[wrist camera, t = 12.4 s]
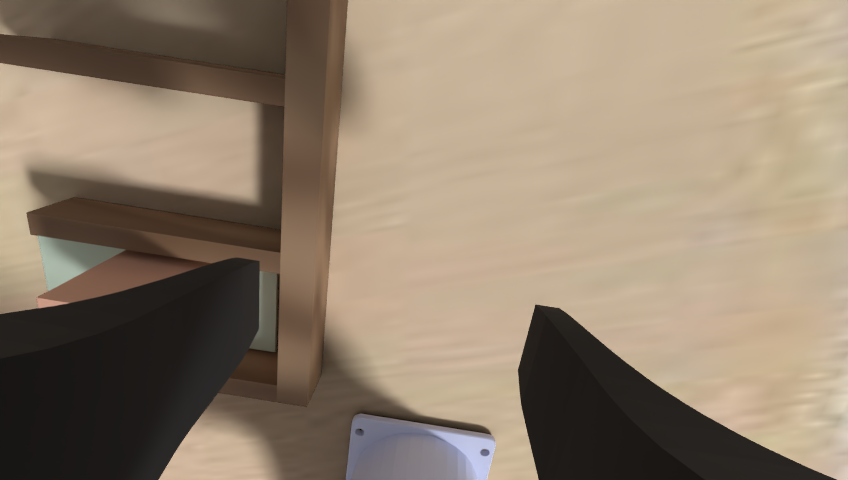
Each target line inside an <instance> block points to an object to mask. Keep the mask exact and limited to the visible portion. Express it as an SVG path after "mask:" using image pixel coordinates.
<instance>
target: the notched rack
mask: <svg viewBox="0 0 848 480" xmlns="http://www.w3.org/2000/svg"><path fill="white" fill-rule="evenodd" d="M347 5H348V0H287V32H286V69H285V75H283V74H276V73H270V72H263V71H257V70H250V69H244V68H237V67H231V66H224V65H218V64H211V63H205V62H198V61H192V60H186V59H179V58H173V57H166V56H160V55H153V54H147V53H140V52H134V51H127V50H121V49H114V48H108V47H101V46H95V45H88V44H82V43H75V42H69V41H62V40H56V39H48V38H37V37H26V36H15V35H4V34H0V63H4V64H11V65H17V66H24V67H30V68H37V69H43V70H50V71H56V72H63V73H69V74H76V75H82V76H89V77H95V78H101V79H108V80H114V81H121V82H127V83H134V84H140V85H147V86H153V87H160V88H166V89H173V90H179V91H186V92H192V93H198V94H205V95H211V96H218V97H224V98H231V99H237V100H244V101H250V102H257V103H263V104H270V105H276V106H283V107H284V144H283V182H282V220H281V230H278V229H271V228H265V227H259V226H252V225H246V224H240V223H233V222H227V221H221V220H214V219H208V218H202V217H195V216H189V215H183V214H176V213H170V212H163V211H157V210H151V209H144V208H138V207H132V206H125V205H119V204H113V203H106V202H100V201H94V200H87V199H81V198H71V199H68V200H64V201H61V202H58V203H55V204H52V205H49V206H46V207H43V208H40V209H37V210H33V211H30V212H27V218H28V223H29V229H30V234H31V235H37V236H38V241H39V246H40V251H41V256H42V262H43V267H44V272H45V278H46V283H47V288H48V291H50V290H52V289H53V288H55V287H57V286H59V285H61V284H63V283H65V282H67V281H68V280H70V279H72V278H74V277H76V276H78V275H80V274H82V273H83V272H85V271H87V270H89V269H91V268H93V267H95V266H97V265H98V264H100V263H102V262H104V261H106V260H108V259H110V258H112V257H113V256H115V255H117V254H119V253H121V252H123V251H125V250H132V251H138V252H144V253H150V254H157V255H163V256H169V257H176V258H182V259H188V260H195V261H201V262H207V263H215V262H218V261H222V260H226V259H230V258H236V257H238V258H244V259H250V260H257V261H260V292H259V330H258V332H257V334H256V336H255V338H254V340H253V342H252V343H251V345H250V347H249V349H248V351H247V352H246V354H245V356H244V358H243V360H242V361H241V362H240V364H239V365H238V367H237V368H236V369H235V371H234V372H233V373H232V375H231V376H230V377H229V379H228V380H227V381H226V383H225V384H224V386H223V387H222V388H221V389H220V391H219V392H218V393H223V394H230V395H236V396H242V397H248V398H254V399H261V400H267V401H273V402H279V403H285V404H292V405H298V406H304V407H307V406H308V403H309V401H310V399H311V396H312V394H313V392H314V390H315V387H316V385H317V383H318V381H319V378H320V376H321V372H322V358H323V344H324V330H325V316H326V301H327V287H328V273H329V259H330V245H331V231H332V217H333V203H334V188H335V174H336V160H337V146H338V132H339V118H340V104H341V90H342V76H343V61H344V47H345V33H346V19H347ZM278 274H280V295H279V332H278V352H275V351H276V345H277V305H278Z"/></svg>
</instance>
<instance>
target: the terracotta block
mask: <svg viewBox="0 0 848 480" xmlns="http://www.w3.org/2000/svg"><path fill="white" fill-rule="evenodd" d="M208 264H212V263H207V262H201V261H195V260H188V259H182V258H176V257H169V256H163V255H157V254H150V253H144V252H138V251H132V250H125V251H123V252H121V253H119V254H117V255H115V256H113V257H112V258H110V259H108V260H106V261H104V262H102V263H100V264H98V265H97V266H95V267H93V268H91V269H89V270H87V271H85V272H83V273H82V274H80V275H78V276H76V277H74V278H72V279H70V280H68V281H67V282H65V283H63V284H61V285H59V286H57V287H55V288H53V289H52V290H50V291H48V292H46V293H44V294H42V295H40V296H38V297H37V303H38V308H44V307H50V306H57V305H62V304H67V303H72V302H77V301H81V300H86V299H91V298H96V297H100V296H104V295H108V294H112V293H116V292H120V291H124V290H127V289H130V288H134V287H137V286H141V285H144V284H148V283H151V282H155V281H158V280H162V279H165V278H168V277H171V276H174V275H177V274H180V273H184V272H187V271H190V270H193V269H196V268H199V267H202V266H205V265H208Z"/></svg>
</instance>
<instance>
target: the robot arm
mask: <svg viewBox="0 0 848 480" xmlns="http://www.w3.org/2000/svg"><path fill="white" fill-rule="evenodd" d="M259 292H260V261H257V260H250V259H244V258H238V257H236V258H230V259H226V260H222V261H218V262H215V263H212V264H208V265H205V266H202V267H199V268H196V269H193V270H190V271H187V272H184V273H180V274H177V275H174V276H171V277H168V278H165V279H162V280H158V281H155V282H151V283H148V284H144V285H141V286H137V287H134V288H130V289H127V290H124V291H120V292H116V293H112V294H108V295H104V296H100V297H96V298H91V299H86V300H81V301H77V302H72V303H67V304H62V305H57V306H50V307H44V308H38V309H31V310H25V311H18V312H12V313H5V314H0V480H158V479H159V478H160V476H161V474H162V473H163V471H164V470H165V468H166V466H167V465H168V463H169V461H170V460H171V458H172V456H173V455H174V453H175V451H176V450H177V448H178V447H179V445H180V444H181V442H182V441H183V439H184V438H185V436H186V435H187V433H188V432H189V431H190V429H191V428H192V427H193V425H194V424H195V423H196V421H197V420H198V419H199V417H200V416H201V415H202V413H203V412H204V411H205V409H206V408H207V407H208V405H209V404H210V403H211V401H212V400H213V399H214V397H215V396H216V395H217V393H218V392H219V391H220V389H221V388H222V387H223V386H224V384H225V383H226V381H227V380H228V379H229V377H230V376H231V375H232V373H233V372H234V371H235V369H236V368H237V367H238V365H239V364H240V362H241V361H242V360H243V358H244V356H245V354H246V352H247V351H248V349H249V347H250V345H251V343H252V342H253V340H254V338H255V336H256V334H257V332H258V330H259ZM518 375H519V387H520V397H521V406H522V410H523V415H524V419H525V423H526V428H527V432H528V436H529V440H530V445H531V449H532V453H533V457H534V461H535V465H536V470H537V474H538V478H539V480H836V479H834V478H831V477H829V476H827V475H824V474H822V473H819V472H817V471H814V470H812V469H810V468H808V467H805V466H803V465H801V464H799V463H797V462H795V461H793V460H790V459H788V458H786V457H784V456H782V455H780V454H778V453H776V452H773V451H771V450H769V449H767V448H765V447H763V446H761V445H759V444H757V443H755V442H753V441H751V440H749V439H747V438H745V437H743V436H741V435H739V434H737V433H736V432H734V431H732V430H730V429H728V428H726V427H725V426H723V425H721V424H719V423H717V422H716V421H714V420H712V419H710V418H708V417H707V416H705V415H703V414H701V413H700V412H698V411H696V410H695V409H693V408H691V407H690V406H688V405H686V404H685V403H683V402H682V401H680V400H679V399H677V398H676V397H674V396H672V395H671V394H669V393H668V392H666V391H665V390H663V389H662V388H660V387H659V386H657V385H656V384H654V383H653V382H651V381H650V380H649V379H647V378H646V377H645V376H643V375H642V374H641V373H639V372H638V371H637V370H635V369H634V368H633V367H631V366H630V365H629V364H627V363H626V362H625V361H623V360H622V359H621V358H620V357H618V356H617V355H616V354H615V353H613V352H612V351H611V350H610V349H608V348H607V347H606V346H605V345H604V344H602V343H601V342H600V341H599V340H598V339H597V338H595V337H594V336H593V335H592V334H591V333H590V332H588V331H587V330H586V329H585V328H584V327H583V326H581V325H580V324H579V323H578V322H577V321H575V320H574V319H573V318H572V317H571V316H569V315H568V314H567V313H565V312H564V311H563V310H561V309H559V308H554V307H548V306H541V305H535V309H534V313H533V316H532V320H531V324H530V327H529V331H528V335H527V339H526V342H525V346H524V350H523V354H522V357H521V361H520V365H519V369H518ZM358 429H362V430H363V431H360V430H358ZM495 445H496V444H495V439H494V437H493V436H492V435H490V434H485V433H479V432H473V431H466V430H460V429H454V428H448V427H442V426H435V425H429V424H423V423H417V422H411V421H404V420H398V419H392V418H386V417H380V416H373V415H367V414H357V415H355V416H354V418H353V421H352V425H351V435H350V444H349V453H348V463H347V472H346V480H487V477H488V473H489V469H490V465H491V462H492V458H493V454H494V450H495ZM482 449H487V450H484V451H483V450H482Z"/></svg>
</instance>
